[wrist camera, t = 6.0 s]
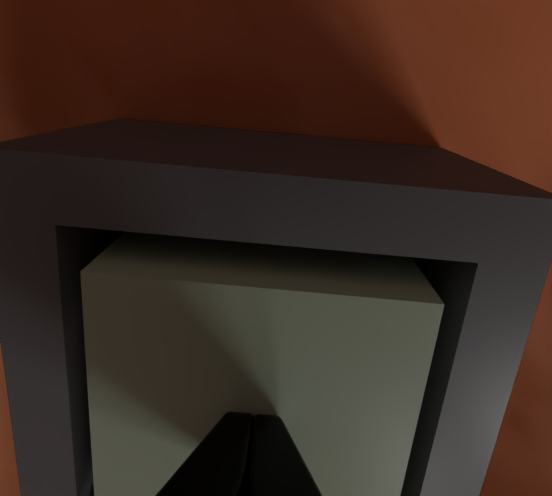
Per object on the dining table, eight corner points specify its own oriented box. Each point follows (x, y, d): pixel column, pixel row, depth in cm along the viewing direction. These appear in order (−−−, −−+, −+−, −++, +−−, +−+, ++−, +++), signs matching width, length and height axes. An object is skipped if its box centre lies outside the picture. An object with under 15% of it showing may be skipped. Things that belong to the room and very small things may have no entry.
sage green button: (385, 219, 10) (444, 304, 6) (353, 404, 12) (384, 563, 8) (161, 199, 10) (80, 271, 6) (160, 387, 12) (96, 537, 8)
